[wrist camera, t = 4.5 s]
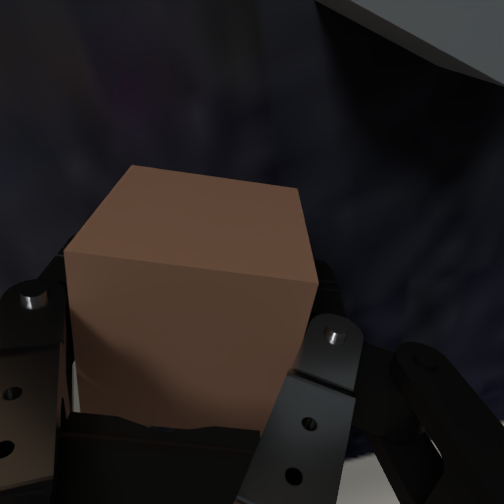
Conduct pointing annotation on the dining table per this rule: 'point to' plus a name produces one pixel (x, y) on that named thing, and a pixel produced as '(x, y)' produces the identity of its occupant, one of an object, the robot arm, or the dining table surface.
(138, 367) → the terracotta cube
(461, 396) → the robot arm
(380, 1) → the blue-grey cube
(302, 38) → the dining table surface
